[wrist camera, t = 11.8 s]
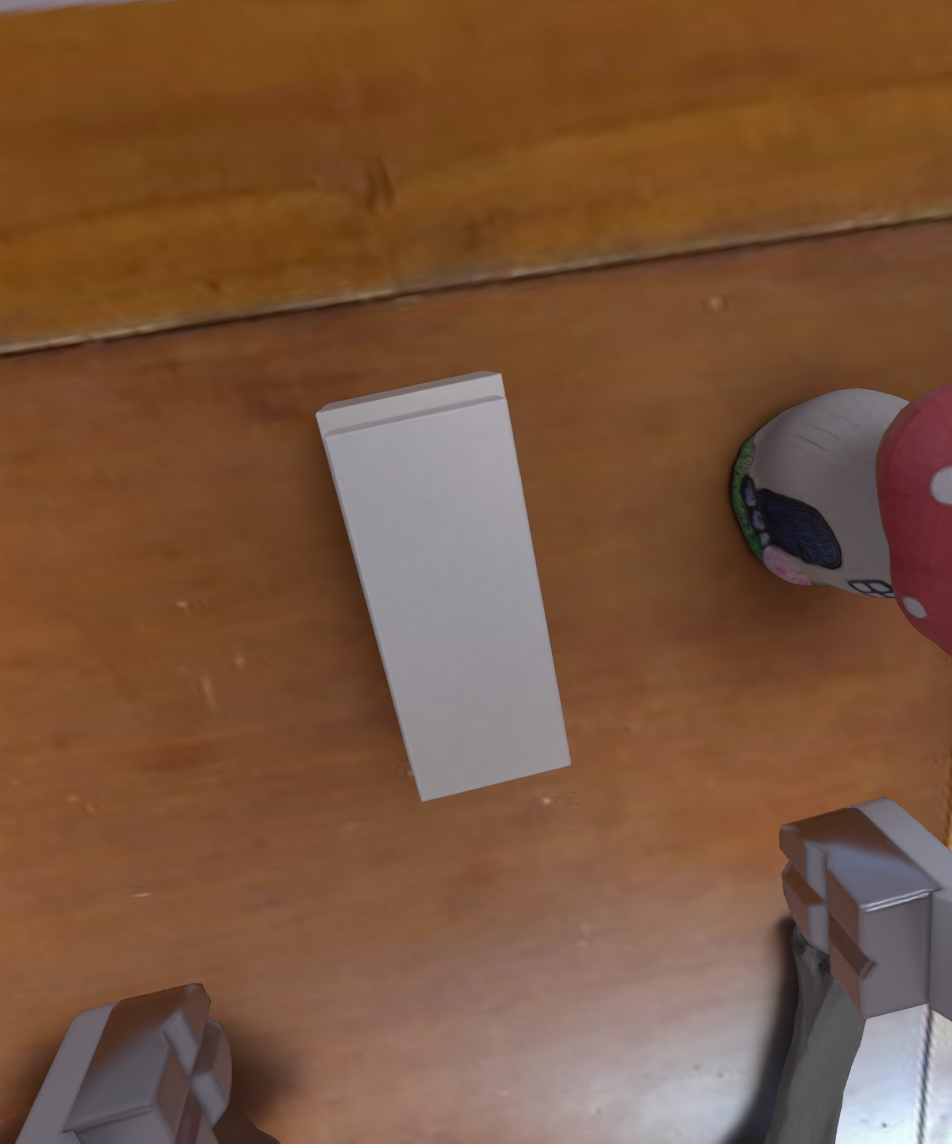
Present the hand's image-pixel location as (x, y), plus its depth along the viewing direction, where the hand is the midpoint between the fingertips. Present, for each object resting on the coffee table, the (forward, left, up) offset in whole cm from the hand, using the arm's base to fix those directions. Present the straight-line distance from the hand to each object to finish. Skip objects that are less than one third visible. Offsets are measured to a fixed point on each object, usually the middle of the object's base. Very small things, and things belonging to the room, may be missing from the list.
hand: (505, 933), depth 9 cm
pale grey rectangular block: (+1, +1, -15) cm, 15 cm away
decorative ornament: (+1, +16, -19) cm, 25 cm away
